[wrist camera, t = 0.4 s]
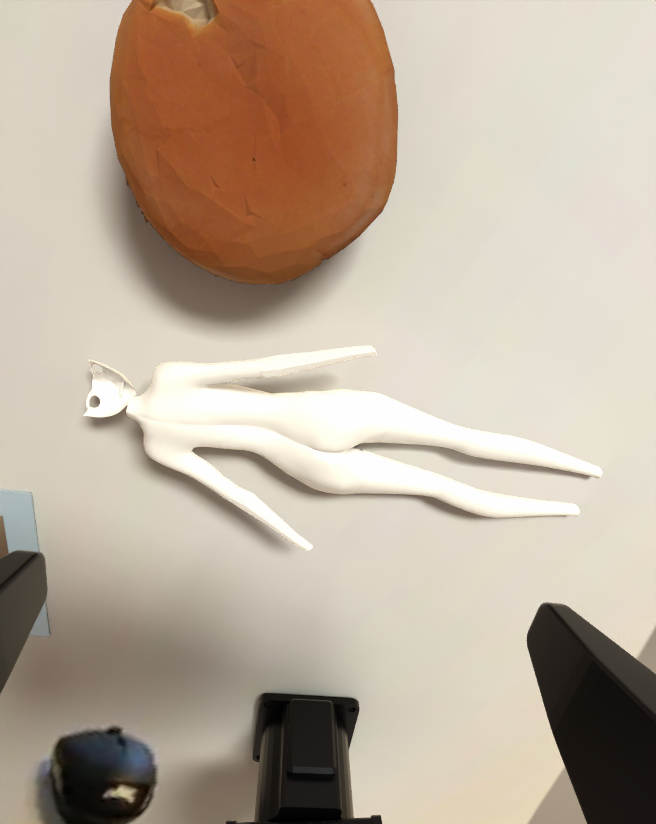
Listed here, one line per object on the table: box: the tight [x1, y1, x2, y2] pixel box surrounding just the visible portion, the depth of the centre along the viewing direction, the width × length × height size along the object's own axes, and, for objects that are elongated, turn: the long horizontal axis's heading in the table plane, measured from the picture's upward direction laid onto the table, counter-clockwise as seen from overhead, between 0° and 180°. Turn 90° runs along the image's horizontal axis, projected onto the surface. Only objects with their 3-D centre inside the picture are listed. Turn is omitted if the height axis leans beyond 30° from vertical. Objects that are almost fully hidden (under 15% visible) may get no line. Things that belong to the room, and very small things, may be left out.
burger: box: [110, 0, 398, 284], centre depth 15 cm, size 10×9×5 cm
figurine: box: [83, 345, 602, 551], centre depth 22 cm, size 10×4×25 cm
